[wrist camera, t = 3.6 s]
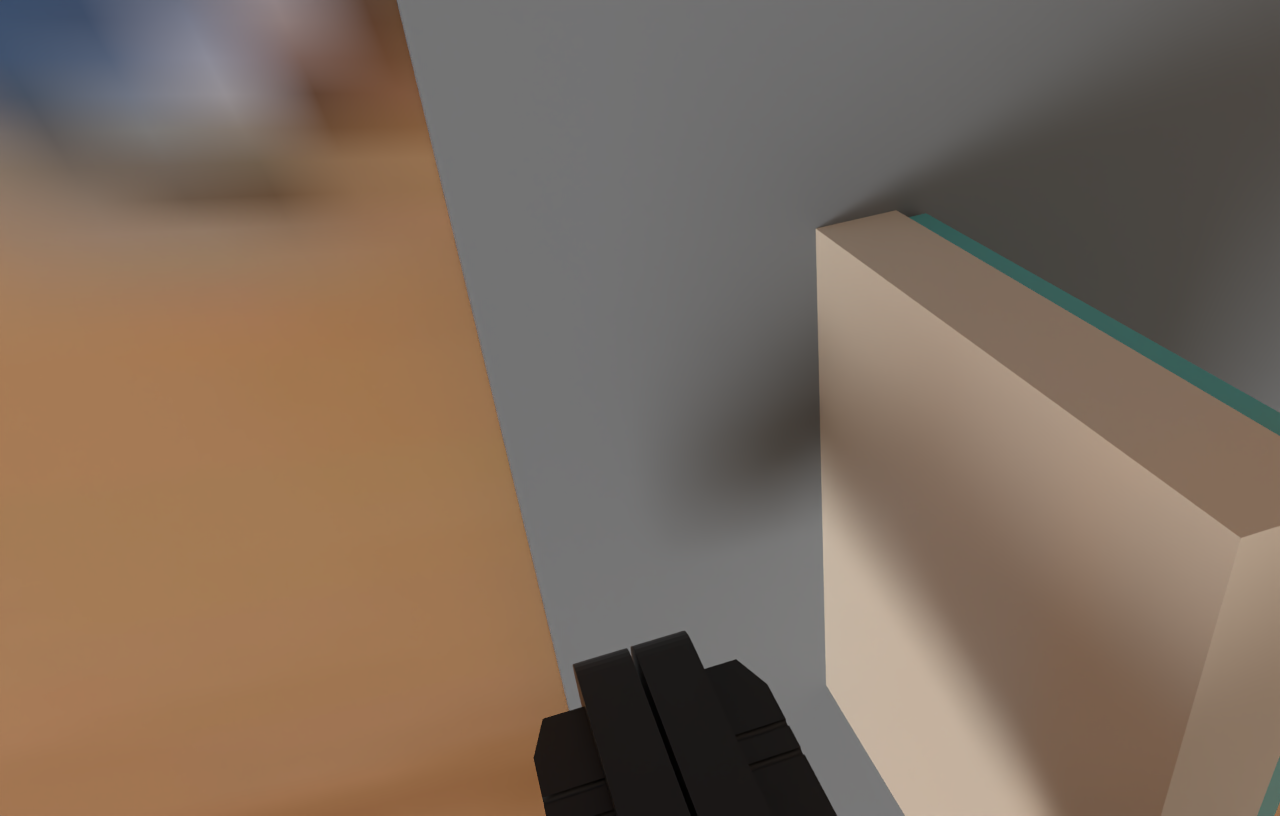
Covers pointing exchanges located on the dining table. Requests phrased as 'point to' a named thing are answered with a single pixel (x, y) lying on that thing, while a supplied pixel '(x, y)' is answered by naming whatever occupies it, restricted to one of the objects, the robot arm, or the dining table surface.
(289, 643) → the dining table surface
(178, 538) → the dining table surface
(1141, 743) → the tile
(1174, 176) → the mat
